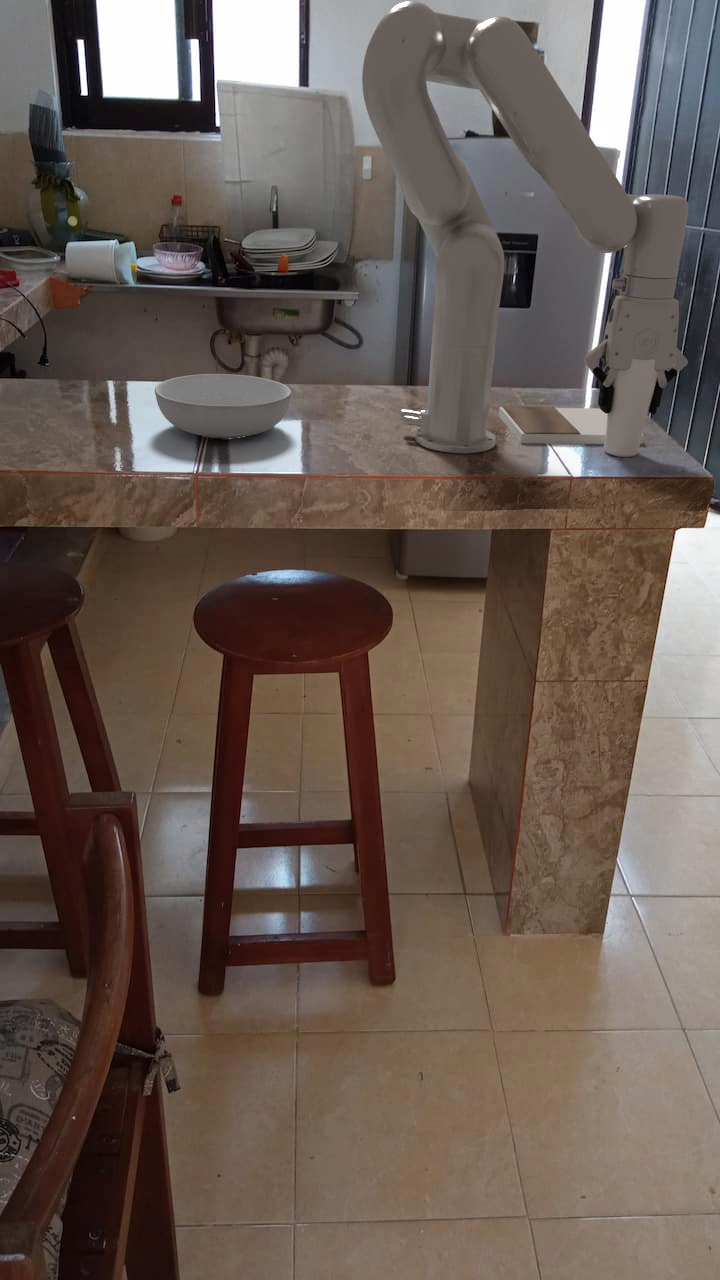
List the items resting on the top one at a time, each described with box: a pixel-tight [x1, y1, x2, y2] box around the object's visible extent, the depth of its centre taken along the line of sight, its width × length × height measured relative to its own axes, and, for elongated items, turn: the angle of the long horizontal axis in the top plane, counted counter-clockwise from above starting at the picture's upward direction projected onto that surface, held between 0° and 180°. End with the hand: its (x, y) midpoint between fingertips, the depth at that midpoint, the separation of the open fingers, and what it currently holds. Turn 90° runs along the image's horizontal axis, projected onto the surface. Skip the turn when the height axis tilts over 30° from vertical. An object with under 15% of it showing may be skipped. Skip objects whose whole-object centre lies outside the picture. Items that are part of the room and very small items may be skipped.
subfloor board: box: [498, 406, 645, 445], centre depth 166 cm, size 20×16×2 cm
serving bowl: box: [154, 373, 292, 440], centre depth 156 cm, size 21×21×7 cm
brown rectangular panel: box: [502, 405, 580, 434], centre depth 165 cm, size 9×16×2 cm, turn 5°
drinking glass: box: [603, 359, 658, 458], centre depth 152 cm, size 7×7×15 cm
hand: (627, 410), depth 152 cm, fingers closed on drinking glass, 6 cm apart
